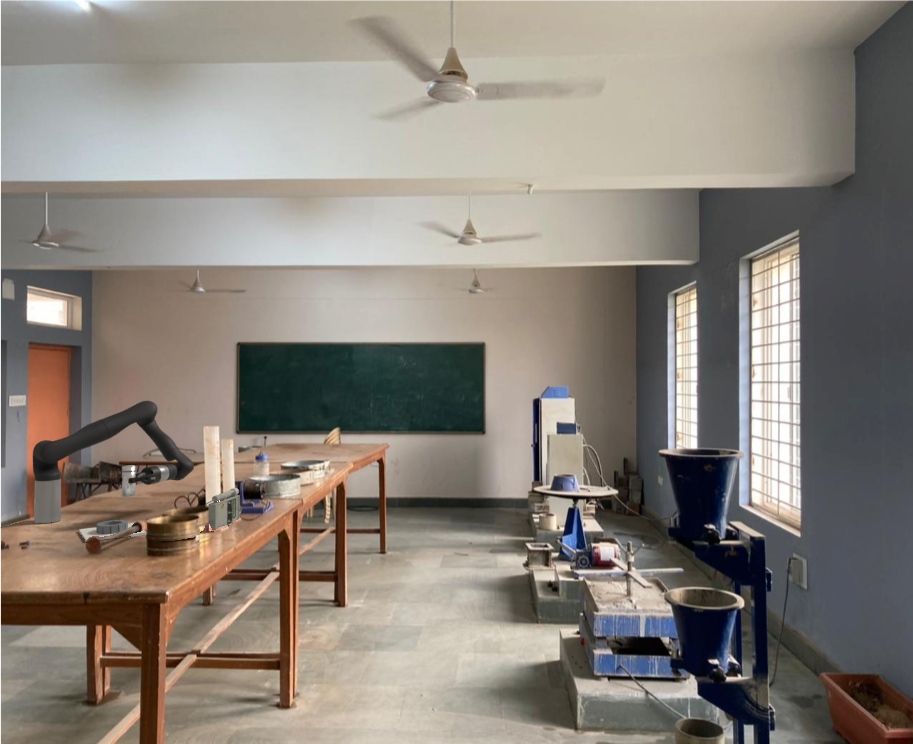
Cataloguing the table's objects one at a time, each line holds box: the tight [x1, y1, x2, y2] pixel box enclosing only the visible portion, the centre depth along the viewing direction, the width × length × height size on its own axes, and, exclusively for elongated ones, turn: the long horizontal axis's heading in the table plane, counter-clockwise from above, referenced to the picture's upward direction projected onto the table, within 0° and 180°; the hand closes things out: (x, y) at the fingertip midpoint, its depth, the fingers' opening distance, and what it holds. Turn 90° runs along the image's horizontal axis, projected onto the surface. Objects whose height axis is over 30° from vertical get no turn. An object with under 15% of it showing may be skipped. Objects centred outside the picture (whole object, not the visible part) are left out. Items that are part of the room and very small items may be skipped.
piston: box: [121, 464, 137, 498], centre depth 272 cm, size 5×5×12 cm
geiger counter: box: [204, 487, 242, 530], centre depth 270 cm, size 14×6×25 cm
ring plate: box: [78, 519, 147, 542], centre depth 255 cm, size 20×20×4 cm
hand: (123, 480), depth 269 cm, fingers closed on piston, 5 cm apart
